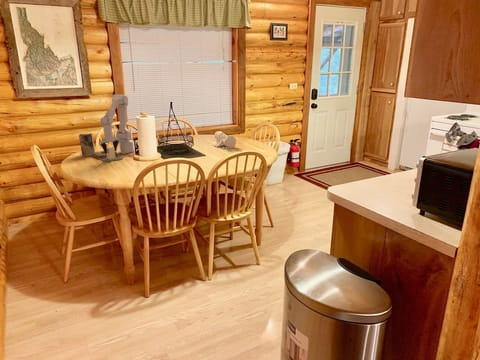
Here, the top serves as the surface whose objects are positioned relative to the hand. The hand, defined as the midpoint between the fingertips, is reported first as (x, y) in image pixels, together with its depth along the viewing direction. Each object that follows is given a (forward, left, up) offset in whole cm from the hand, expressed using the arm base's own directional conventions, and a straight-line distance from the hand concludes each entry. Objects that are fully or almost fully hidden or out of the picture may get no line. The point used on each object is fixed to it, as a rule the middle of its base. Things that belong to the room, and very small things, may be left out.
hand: (110, 152), depth 268 cm
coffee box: (+7, -24, -6) cm, 26 cm away
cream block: (0, 0, -5) cm, 5 cm away
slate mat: (0, 0, -6) cm, 6 cm away
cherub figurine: (-83, +29, -6) cm, 88 cm away
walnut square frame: (-1, -13, -6) cm, 14 cm away
